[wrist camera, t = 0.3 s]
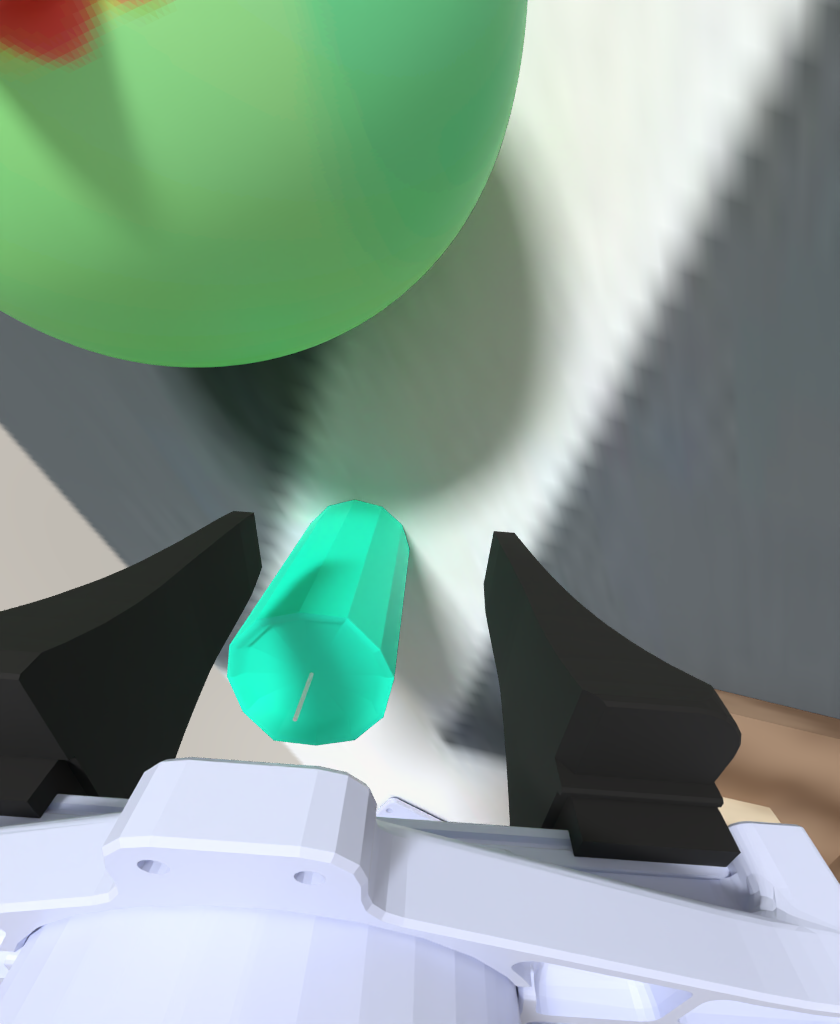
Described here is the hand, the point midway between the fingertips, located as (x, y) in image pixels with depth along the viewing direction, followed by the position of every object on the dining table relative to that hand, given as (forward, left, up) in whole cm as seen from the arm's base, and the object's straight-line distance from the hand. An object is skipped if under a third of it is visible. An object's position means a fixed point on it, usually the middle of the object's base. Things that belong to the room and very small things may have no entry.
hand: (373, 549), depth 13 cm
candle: (-6, -1, -11) cm, 12 cm away
